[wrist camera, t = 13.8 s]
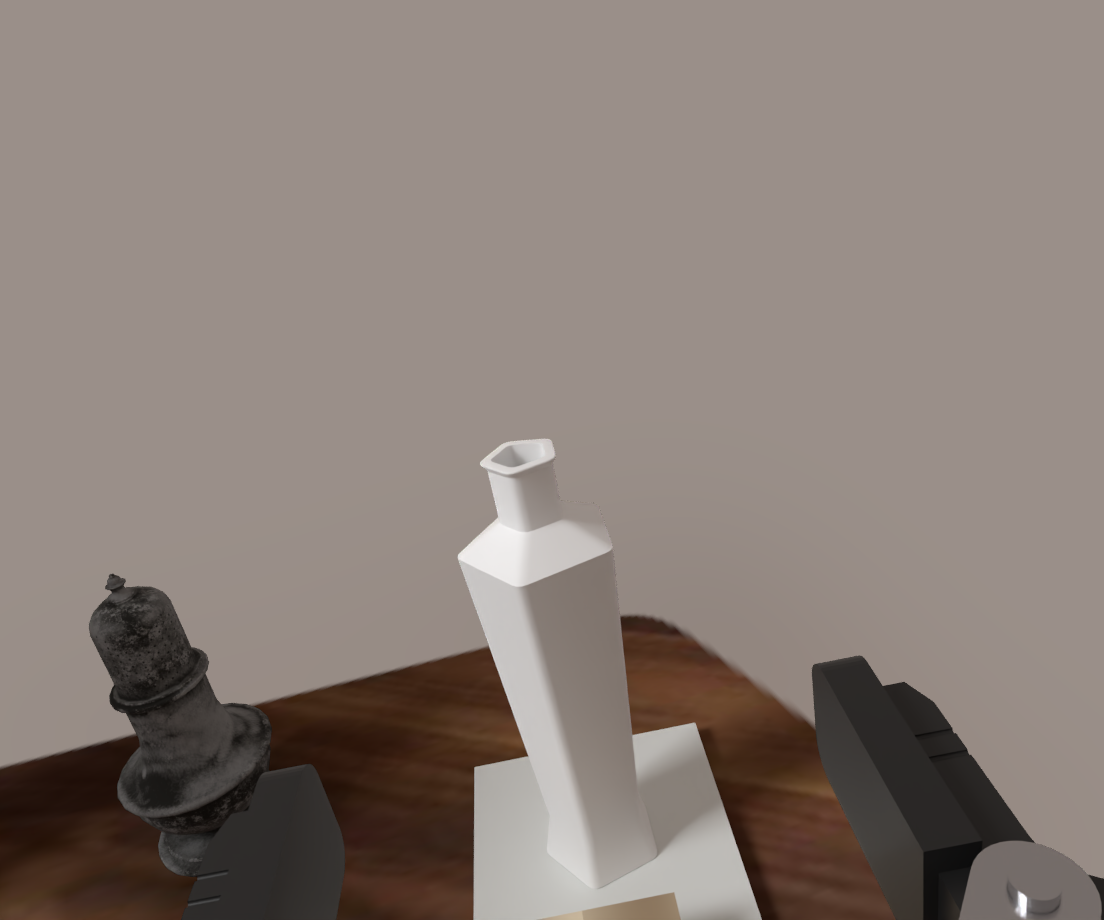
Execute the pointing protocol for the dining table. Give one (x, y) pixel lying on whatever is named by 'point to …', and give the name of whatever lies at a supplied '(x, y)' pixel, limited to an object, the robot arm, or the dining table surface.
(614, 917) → the frame
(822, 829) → the dining table surface
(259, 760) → the black chess piece
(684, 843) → the coaster
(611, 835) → the white vase
